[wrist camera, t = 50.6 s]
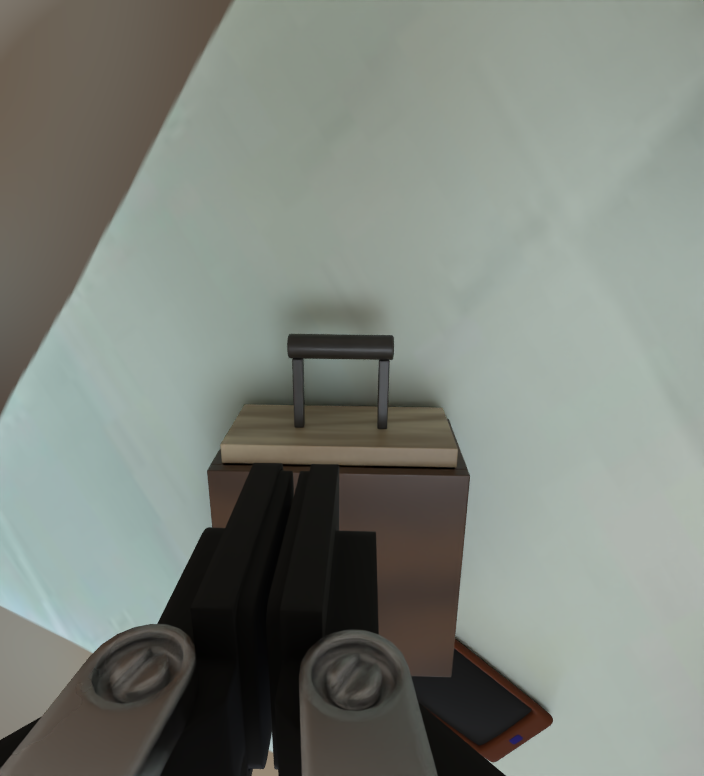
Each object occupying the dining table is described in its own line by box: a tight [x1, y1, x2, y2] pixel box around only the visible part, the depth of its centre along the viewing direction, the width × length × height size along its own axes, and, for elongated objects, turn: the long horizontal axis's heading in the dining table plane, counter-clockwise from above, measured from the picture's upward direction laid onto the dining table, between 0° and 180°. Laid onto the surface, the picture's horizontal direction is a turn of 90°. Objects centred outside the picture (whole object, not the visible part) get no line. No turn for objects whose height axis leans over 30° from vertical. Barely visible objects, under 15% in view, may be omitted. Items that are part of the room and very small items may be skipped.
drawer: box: [220, 334, 458, 469], centre depth 34 cm, size 19×13×6 cm
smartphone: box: [411, 639, 553, 762], centre depth 44 cm, size 7×1×15 cm
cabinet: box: [207, 419, 470, 677], centre depth 35 cm, size 14×14×8 cm
